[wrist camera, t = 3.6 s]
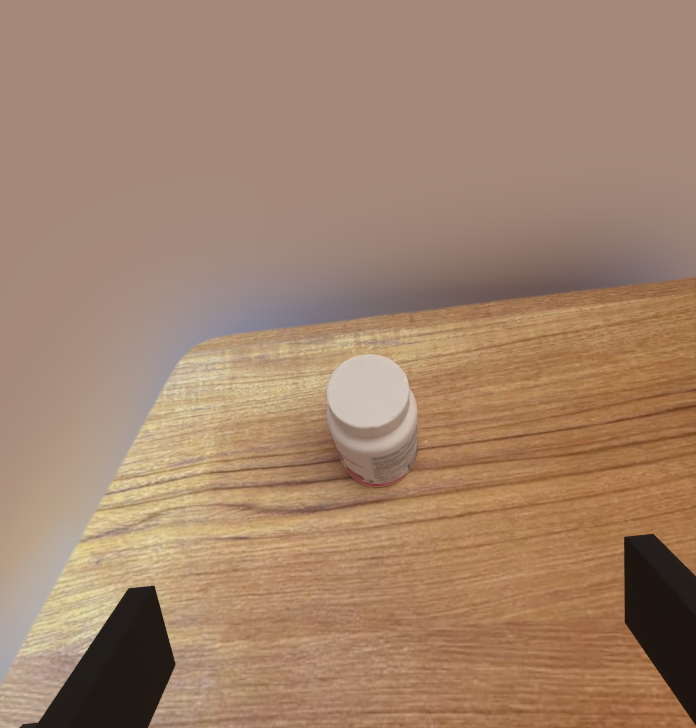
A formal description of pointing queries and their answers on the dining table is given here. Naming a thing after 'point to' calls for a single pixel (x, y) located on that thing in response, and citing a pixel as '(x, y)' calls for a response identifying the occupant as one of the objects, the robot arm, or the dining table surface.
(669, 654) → the robot arm
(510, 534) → the dining table surface
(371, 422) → the pill bottle
